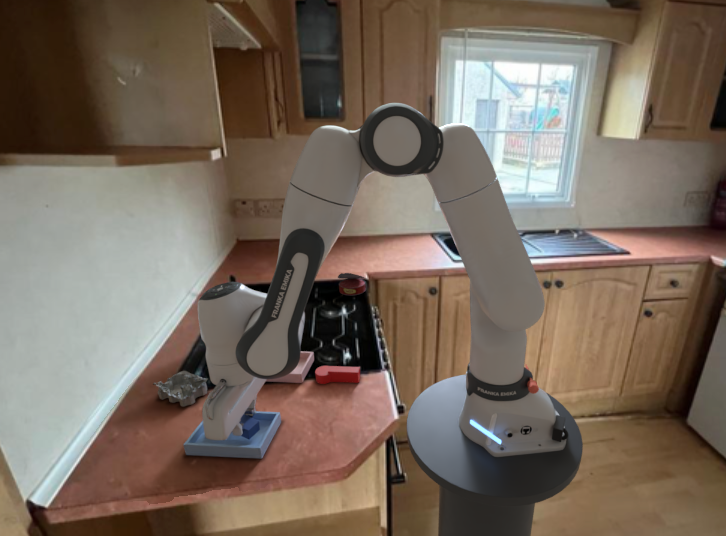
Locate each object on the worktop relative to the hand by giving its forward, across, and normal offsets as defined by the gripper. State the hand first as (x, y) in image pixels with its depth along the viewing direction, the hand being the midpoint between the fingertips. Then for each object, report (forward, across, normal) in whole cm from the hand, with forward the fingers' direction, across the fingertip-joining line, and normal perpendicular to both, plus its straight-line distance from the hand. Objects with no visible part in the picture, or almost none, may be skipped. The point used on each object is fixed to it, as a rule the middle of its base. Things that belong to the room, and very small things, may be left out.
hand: (245, 424), depth 83 cm
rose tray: (+4, +24, +2) cm, 24 cm away
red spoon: (+4, +21, -14) cm, 25 cm away
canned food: (+4, +77, -6) cm, 77 cm away
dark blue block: (0, 0, +4) cm, 4 cm away
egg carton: (+4, +13, +21) cm, 25 cm away
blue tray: (+4, 0, +2) cm, 4 cm away
